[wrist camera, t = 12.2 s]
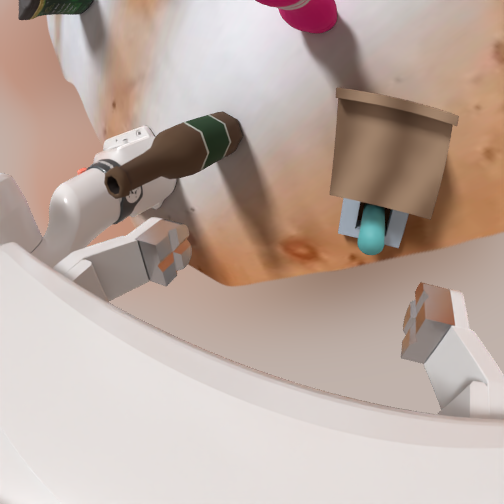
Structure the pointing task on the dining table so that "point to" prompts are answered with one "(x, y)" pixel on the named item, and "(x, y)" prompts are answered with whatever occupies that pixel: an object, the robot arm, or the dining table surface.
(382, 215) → the peg
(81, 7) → the coffee jar
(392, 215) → the socket
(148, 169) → the beer bottle
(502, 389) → the robot arm
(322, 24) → the pepper mill
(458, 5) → the dining table surface
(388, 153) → the toy chair
